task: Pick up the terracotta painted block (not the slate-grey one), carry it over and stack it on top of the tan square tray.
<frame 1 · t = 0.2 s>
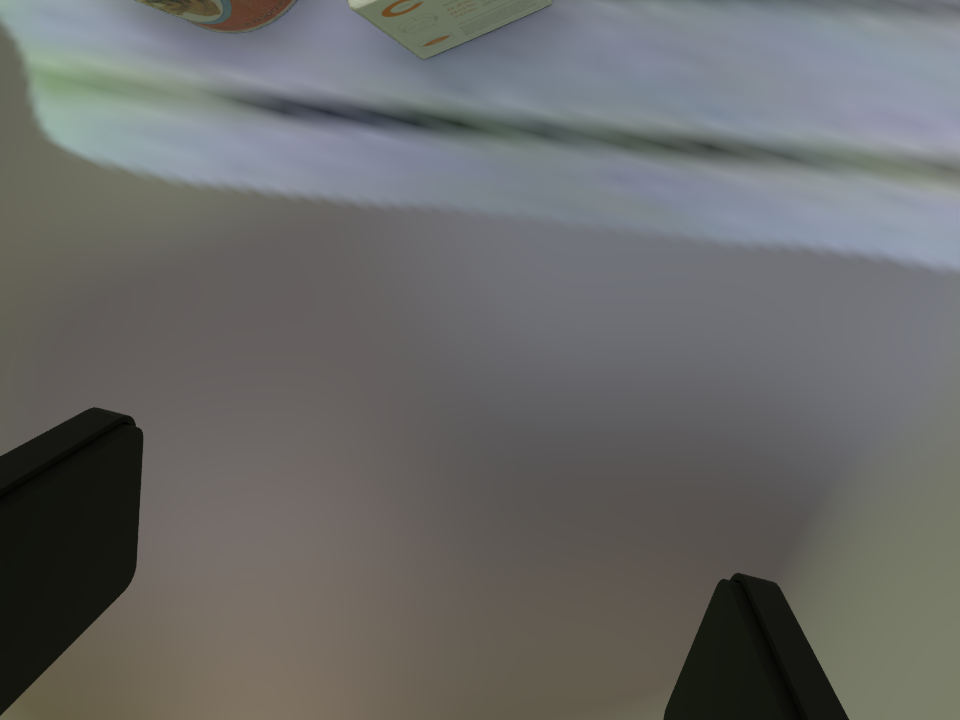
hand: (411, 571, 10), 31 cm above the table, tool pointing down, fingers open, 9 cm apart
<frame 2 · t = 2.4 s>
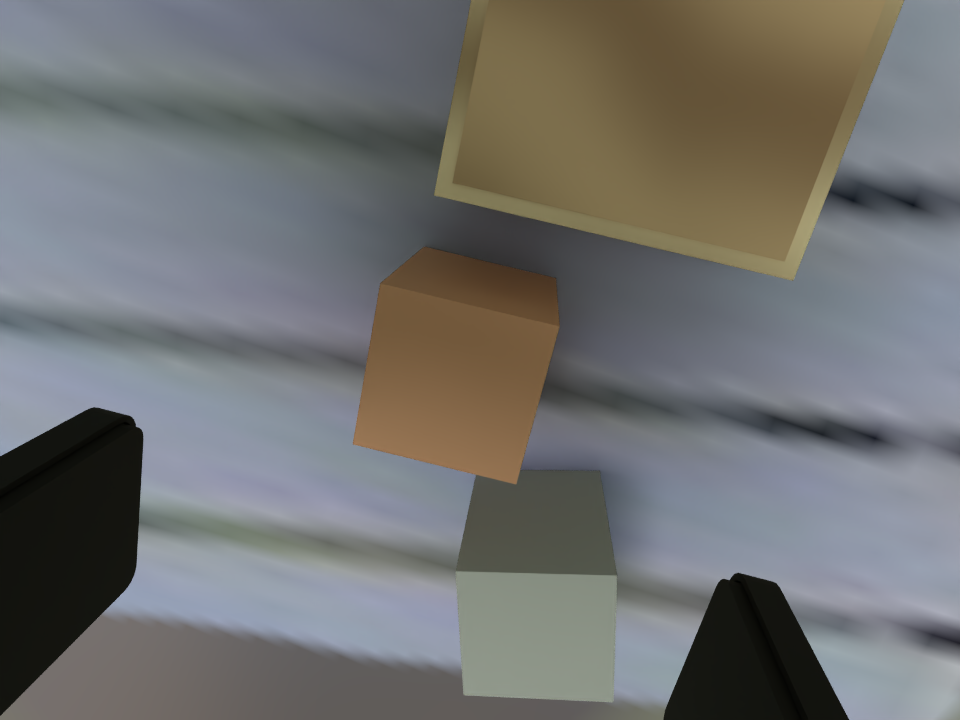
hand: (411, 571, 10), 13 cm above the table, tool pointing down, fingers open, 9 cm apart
terracotta block: (475, 325, 22), on the table
tan square tray: (639, 64, 19), on the table
slate block: (538, 522, 24), on the table
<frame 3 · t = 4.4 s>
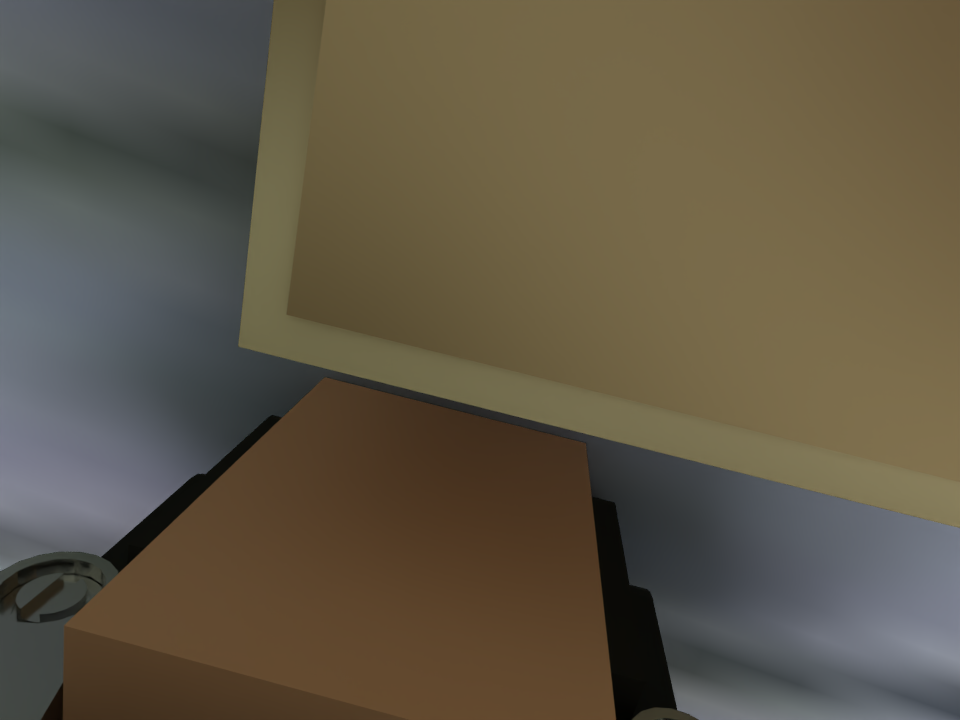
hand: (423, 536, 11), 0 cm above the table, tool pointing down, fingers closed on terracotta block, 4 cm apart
terracotta block: (428, 523, 11), on the table, touching gripper
tan square tray: (780, 1, 8), on the table
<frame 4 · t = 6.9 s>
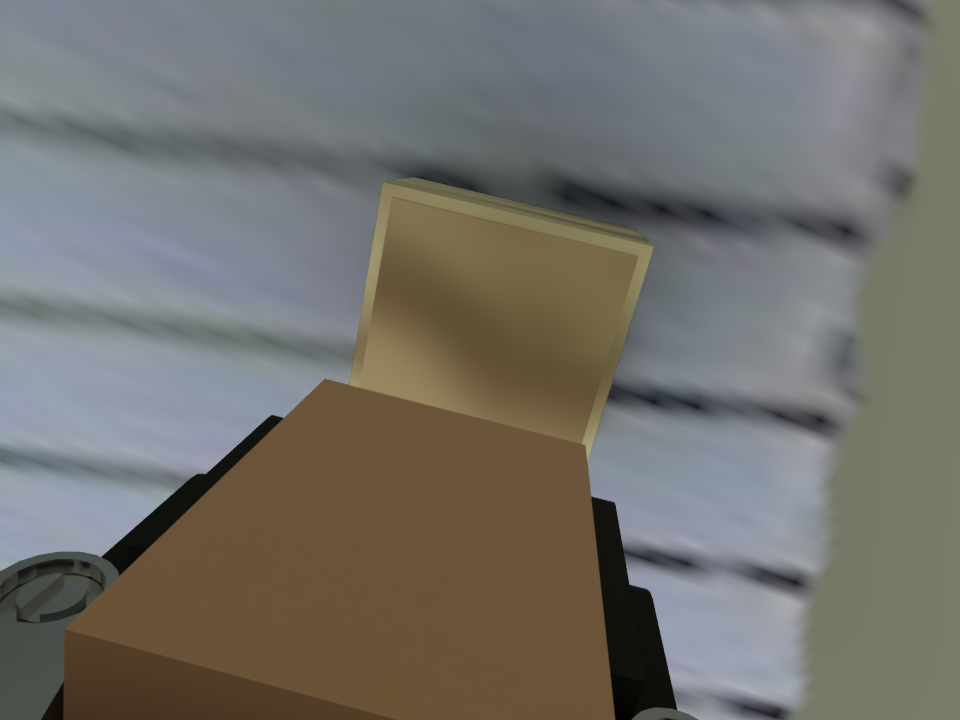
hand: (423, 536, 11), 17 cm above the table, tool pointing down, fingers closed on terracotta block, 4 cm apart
terracotta block: (428, 524, 11), point 16 cm above the table, touching gripper
tan square tray: (498, 310, 27), on the table
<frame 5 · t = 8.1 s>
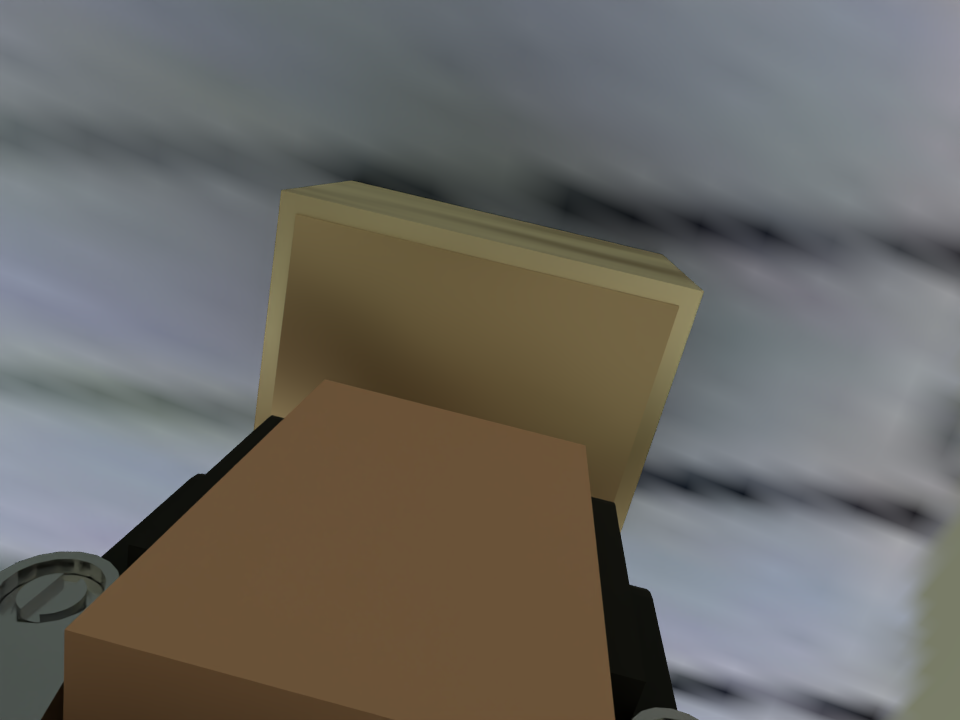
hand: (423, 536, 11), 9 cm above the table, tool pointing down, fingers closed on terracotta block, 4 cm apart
terracotta block: (428, 525, 11), point 9 cm above the table, touching gripper
tan square tray: (471, 364, 19), on the table
when the fingers open (7 cm above the table, at t = 9.3 s): terracotta block drops 1 cm, resting on tan square tray.
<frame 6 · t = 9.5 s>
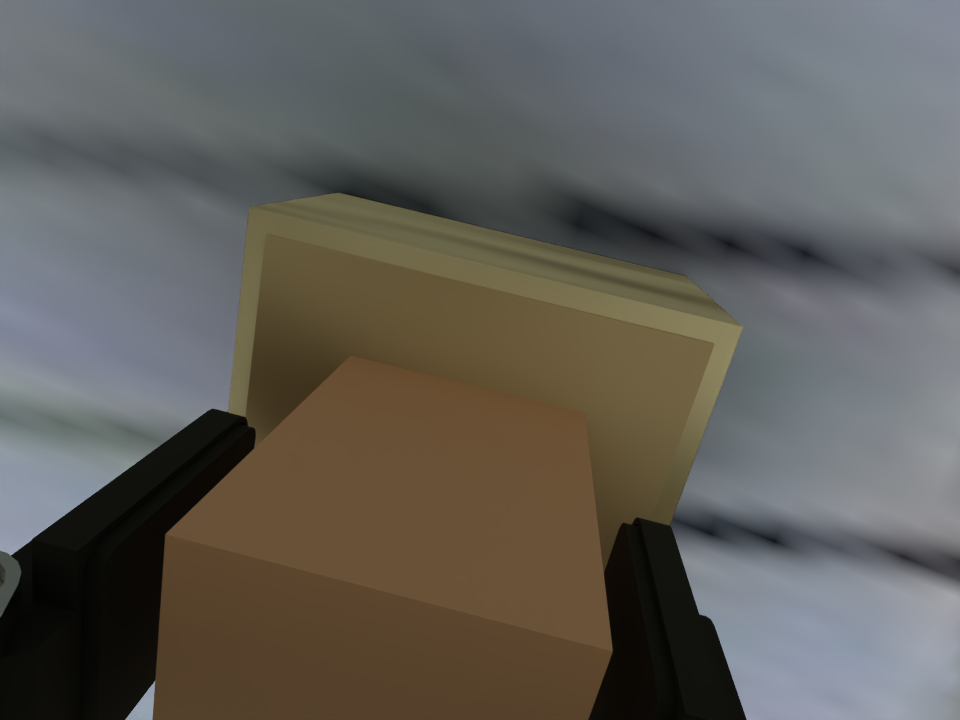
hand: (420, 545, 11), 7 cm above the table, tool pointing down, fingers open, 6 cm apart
terracotta block: (443, 487, 13), point 5 cm above the table, touching tan square tray
tan square tray: (472, 396, 17), on the table
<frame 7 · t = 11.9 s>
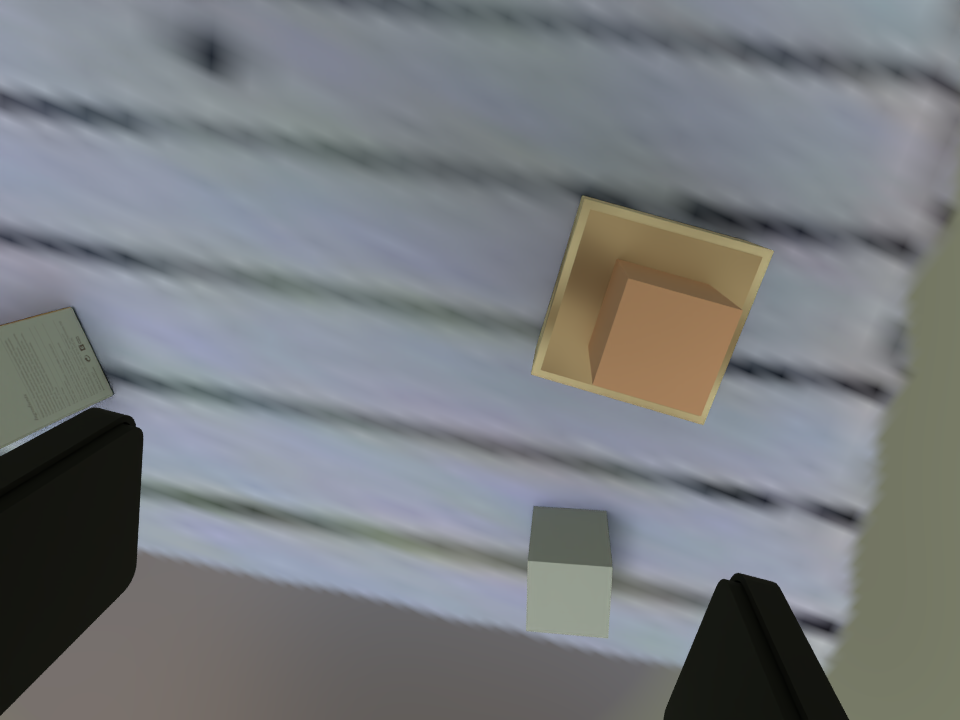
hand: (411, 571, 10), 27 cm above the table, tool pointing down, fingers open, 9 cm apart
terracotta block: (647, 316, 31), point 5 cm above the table, touching tan square tray
tan square tray: (635, 297, 36), on the table
slate block: (568, 539, 40), on the table
small box: (47, 365, 42), on the table
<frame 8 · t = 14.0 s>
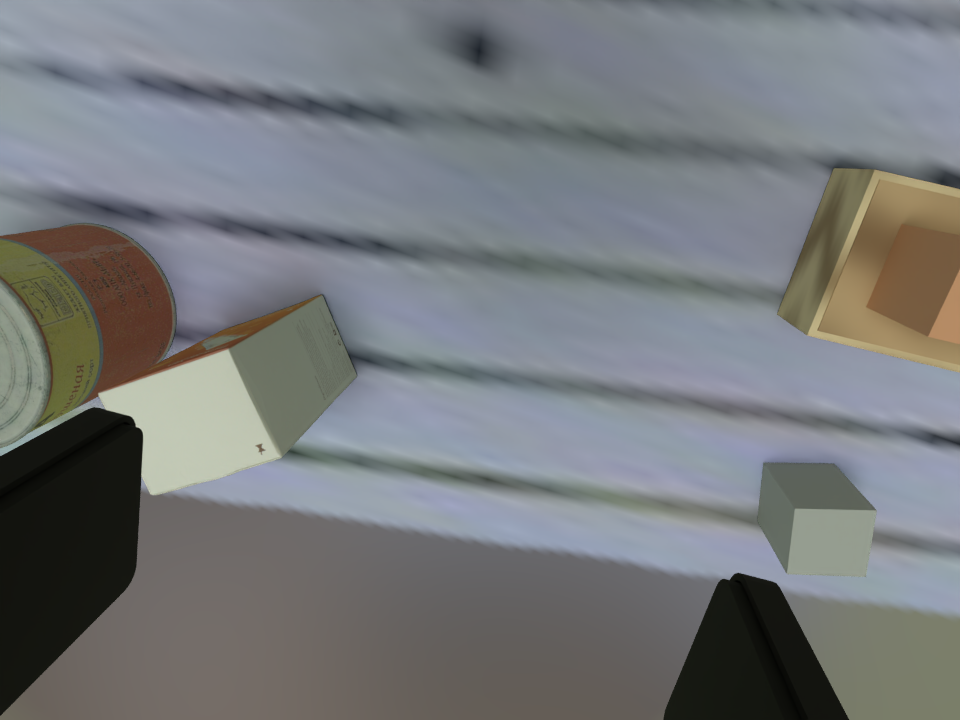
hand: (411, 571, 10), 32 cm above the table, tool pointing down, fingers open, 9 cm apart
terracotta block: (925, 276, 33), point 5 cm above the table, touching tan square tray
tan square tray: (878, 261, 38), on the table
slate block: (794, 492, 43), on the table
canned food: (102, 303, 45), on the table
small box: (291, 351, 45), on the table
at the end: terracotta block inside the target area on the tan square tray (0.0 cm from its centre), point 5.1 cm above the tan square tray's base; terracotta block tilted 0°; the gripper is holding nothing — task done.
